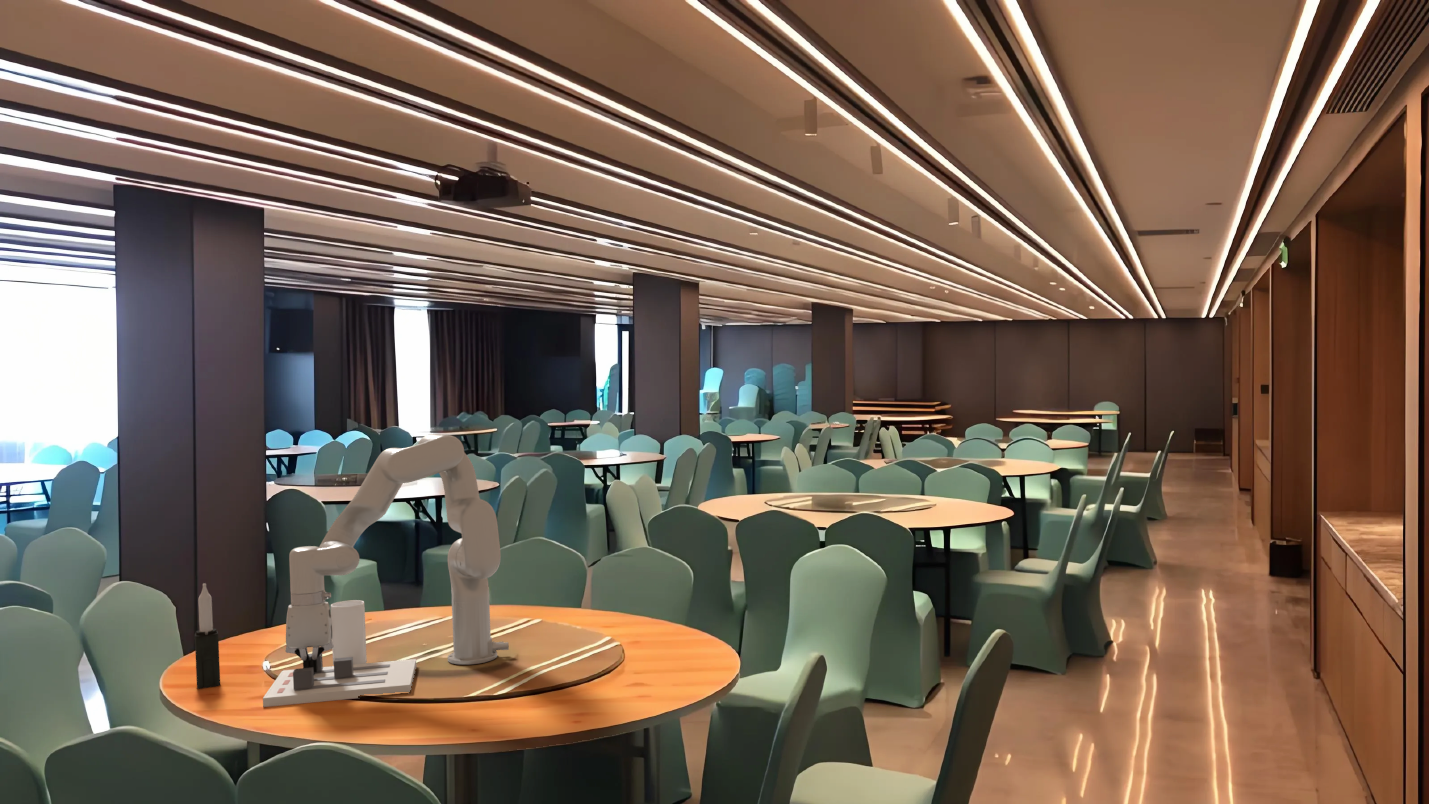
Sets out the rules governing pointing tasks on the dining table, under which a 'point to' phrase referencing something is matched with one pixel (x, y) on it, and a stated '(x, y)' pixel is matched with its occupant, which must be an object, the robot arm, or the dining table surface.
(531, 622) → the dining table surface
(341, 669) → the handle
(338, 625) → the cup
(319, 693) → the switch panel
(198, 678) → the black and grey marker
